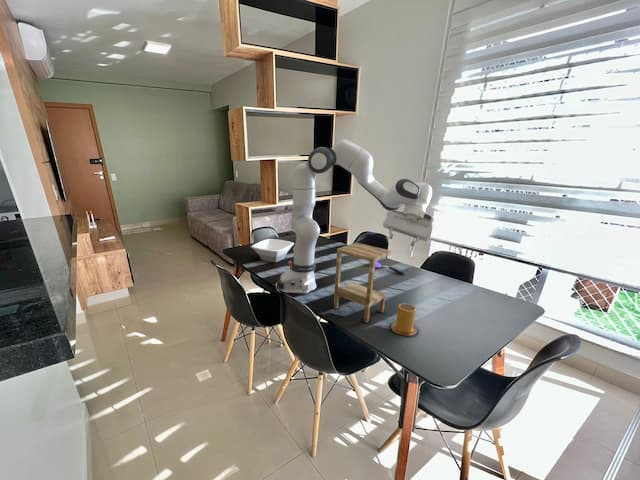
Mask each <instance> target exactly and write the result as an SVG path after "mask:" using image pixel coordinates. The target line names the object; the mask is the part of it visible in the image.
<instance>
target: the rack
mask: <svg viewBox="0 0 640 480" xmlns="http://www.w3.org/2000/svg"><path fill="white" fill-rule="evenodd" d="M392 253H393V251H392V250H389V249H386V248H381V247H377V246H372V245H368V244H364V243H361V242H352V243H350V244H348V245H344V246H342V247H338V248H337V249H336V263H335V279H334V295H333V309H335V310H337V309H339V303H340V297H342V298H343V299H345V300H348V301H351V302H353V303H356V304H357V305H360V306H363V307H364V313H363V322H364V323H366V324H367V323H369V321H370V315H371V307H372V306H373V305H374V306H375V304H377V303H379V306H378V307H379V308H378V312H379V313H381V314H383V313H384V312H385V306H386V297H387V294H386V293H384V292H381V291H378V290H375V289H373V287H374V279H375V271H376V270H375V269H376V267H375V262H376V261H377V262H378V261H380V260H382V259H384V258H386V257H388V256H391V255H392ZM343 255H346V256H350V257H354V258H357V259H361V260H364V261H367V262H369V261H370V263H369V267H368V277H367V284H366V285H367V287H366V286H364V285H361V284H359V283H356V282H351V283H348V284H345V285H344V286H341V276H342V275H341V274H342V260H343Z"/></svg>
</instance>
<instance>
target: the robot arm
mask: <svg viewBox="0 0 640 480" xmlns="http://www.w3.org/2000/svg"><path fill="white" fill-rule="evenodd" d="M335 165H337V166H340V167H341V168H343V169H345V170H346V171H347V172H349V173H350V174H351V175H352V176H353V177H354V178H355V179H356V181H357V183H358V184H359V185H360V186H361V187H362V188H363V189H365V191H367V192H368V194H370V195H371V196H372V197H374V198H375V199H376V200H377V201H378V202H379V204H380V205H381V206H382V208H384V209H385V210H386V211H387V213H386V217H385V219H384V221H383V224H382V226H383V229H387V230H388V234H389V236H388V239H390V240H393V238H394V235H395V234H394V233H393V232H396V233H399V234H402V235H405V236H408V237H410V238H414V239H415V240H411V243H410V245H409V246H410V247H415V245H416V244H417V243H418V242H419V241H423V242H428V241H429V240H430V239H431V236H432V234H433V231H434V230H433V229H434V224H433V223H434V220H435V217H433V216H432V215H430V214H429V213H427V212H426V210H427V208H428V207H429V204H430V202H431V199H432V196H433V188H432V186H431V185H430V184H429V183H427V182H425V181H420V182H415V181H412V180H411V179H408V178H400V179H399V180H397V181H396V182H395V183H394V184H393V185H392V186H391V187H390V188H386V187H385V186H383V184H381V183H380V182H379V181H377V180H376V179H375V176H374V175H373V169H374V158H373V156H372V154H371V153H370V152H369V151H367V150H366V149H365V148H363V147H362V146H360V145H358V144H357V143H354V142H353V141H351V140H349V139H346V138H341V139H339V140H337V141H336V142H335V144H334V145H332V147H325V146H320V147H315V149H313V150H312V151H310V153H309V155H308V156H307V162H305V163H304V162H303V163H299V164H298V165H295V167H294V170H293V173H292V174H293V175H292V211H291V217H290V218H291V219H290V228H291V230H292V232H293V233H294V234H295V243H294V247H293V261H292V260H289V261H288V262H287V263H288V265H289V268H288V269H287V270H285V271H284V272H283V273H281V275H280V277H279V279H277V280H276V283H275V289H276V291H277V292H278V293H281V292H280V291H279V290H280V289H281V290H282V291H283V292H285V293H284V294H302V295H303V294H305V295H306V294H309V293H310V292H312V291H314V290H316V289H317V283H316V277H315V273H316V262H315V251H316V250H315V249H316V244H317V240H318V238H319V236H320V233H321V228H320V226H319V224H318V222H317V221H316V220H314V219H313V212H314V208H315V206H316V179H317V176H318V174H323V173H324V174H325V173H327V172H328V171H329V170H330V169H331V168H332V167H334V166H335ZM403 205H404V208H403V210H402V211H398V210H399V209H400V208H401V207H402V206H403Z"/></svg>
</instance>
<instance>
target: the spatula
mask: <svg viewBox="0 0 640 480" xmlns="http://www.w3.org/2000/svg"><path fill="white" fill-rule="evenodd" d="M368 264H370V261H368ZM377 268H378V269H379V268H388V269H389V270H391V271H393V272H395V273H397V274H400V275H404V274H405V272H404V271H402V270H400V269H397V268H395V267H392V266H388V265H383V264H381V263H379V262H378V260H377V261H376V262H375V269H377Z"/></svg>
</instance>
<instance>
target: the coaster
mask: <svg viewBox="0 0 640 480" xmlns="http://www.w3.org/2000/svg"><path fill="white" fill-rule="evenodd" d="M395 326H396V321H395V322H392V323H391V325H390V330H391V331H392V332H393V333H395V334H397V335H399V336H403V337H413V336H416V335H417V333H418V329H417V328H416V327H415V325H413V330H412V332H410V333H404V332H400V331H398V330H397V329H396V327H395Z"/></svg>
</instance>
